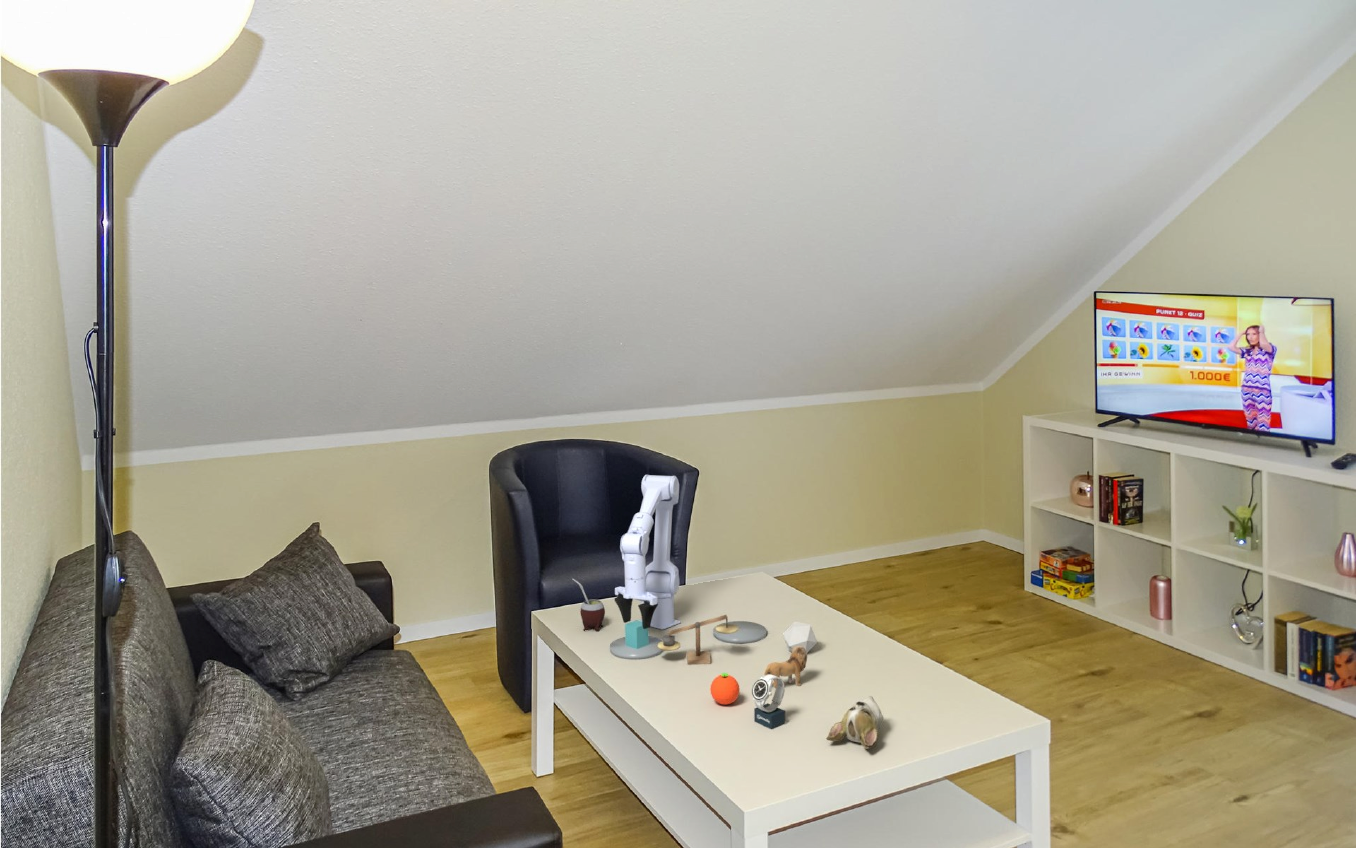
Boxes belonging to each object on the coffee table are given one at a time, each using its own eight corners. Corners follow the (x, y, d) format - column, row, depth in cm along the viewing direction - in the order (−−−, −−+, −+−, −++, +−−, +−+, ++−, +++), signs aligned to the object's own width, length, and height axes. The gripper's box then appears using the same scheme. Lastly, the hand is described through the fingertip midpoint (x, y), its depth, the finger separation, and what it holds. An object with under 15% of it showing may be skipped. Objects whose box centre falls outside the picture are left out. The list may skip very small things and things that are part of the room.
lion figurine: (797, 675, 258) (797, 641, 257) (812, 682, 254) (812, 647, 252) (754, 691, 249) (754, 656, 248) (769, 698, 245) (769, 662, 243)
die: (822, 653, 274) (813, 619, 278) (814, 648, 267) (805, 613, 271) (794, 662, 276) (785, 628, 281) (785, 657, 269) (776, 622, 273)
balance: (658, 665, 267) (657, 621, 265) (657, 657, 273) (656, 613, 271) (739, 662, 267) (739, 618, 266) (737, 654, 273) (736, 611, 271)
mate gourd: (609, 629, 295) (608, 579, 293) (585, 635, 290) (584, 584, 288) (597, 622, 301) (595, 573, 299) (573, 628, 297) (571, 578, 294)
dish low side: (598, 650, 278) (598, 646, 278) (637, 635, 289) (637, 631, 289) (637, 663, 268) (636, 659, 268) (676, 648, 279) (675, 643, 279)
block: (625, 645, 278) (624, 624, 277) (637, 641, 282) (636, 620, 281) (637, 649, 275) (636, 628, 274) (648, 644, 278) (648, 623, 278)
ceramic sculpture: (894, 693, 225) (870, 723, 212) (895, 729, 226) (871, 761, 214) (848, 684, 230) (822, 713, 217) (849, 720, 232) (824, 750, 219)
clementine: (710, 695, 247) (710, 667, 246) (739, 695, 247) (738, 667, 246) (710, 709, 239) (710, 680, 238) (740, 709, 239) (739, 680, 238)
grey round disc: (702, 635, 288) (702, 631, 288) (736, 621, 299) (736, 617, 299) (743, 647, 278) (743, 643, 278) (777, 633, 289) (777, 628, 289)
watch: (748, 724, 231) (747, 677, 229) (773, 714, 236) (773, 668, 234) (765, 732, 227) (765, 685, 225) (790, 721, 232) (790, 675, 230)
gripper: (606, 575, 278) (607, 622, 280) (643, 585, 268) (645, 634, 270) (624, 569, 283) (626, 616, 285) (662, 579, 273) (663, 627, 275)
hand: (636, 624), depth 278 cm, fingers open, 7 cm apart
